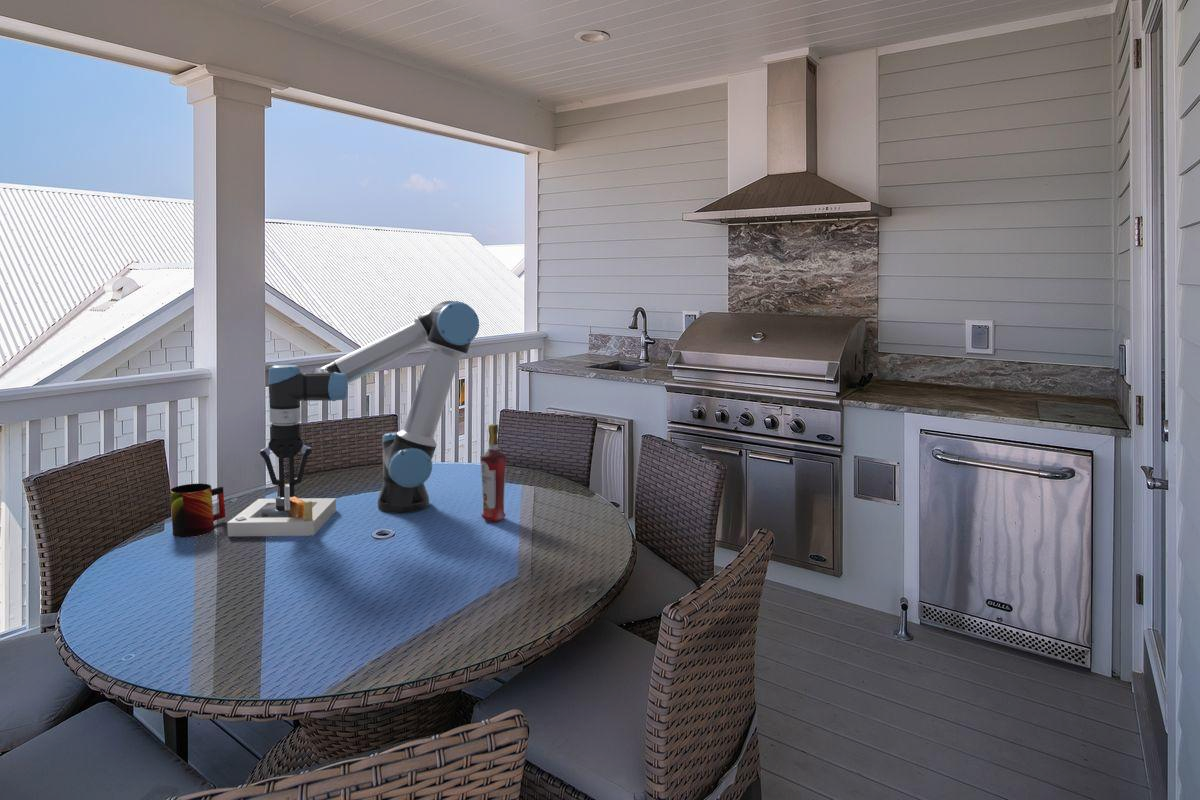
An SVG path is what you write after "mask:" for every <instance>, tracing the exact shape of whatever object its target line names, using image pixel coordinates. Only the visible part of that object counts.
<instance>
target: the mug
mask: <svg viewBox="0 0 1200 800" xmlns="http://www.w3.org/2000/svg"><path fill="white" fill-rule="evenodd" d="M224 494H225V493H224V486H218V487H216V488H212V485H211V484H209V483H208V484H207V483H187V484H183V485H177V486H174V487H172V488H171V489H169V497H170V498H169V499H170V500H169V501H170V510H171V511H170V512H171V513H170V514H171V524H172V535H173V536H174V537H177V538H186V539H187V538H194V537H195V536H196V537H200V535H201V536H204V534H205V535H207V533H208V534H210V533H212V532H213V531H214V530H215V526H214V525H215V524H214V522H215V521H217V520H221V519H223V518H226V508H225V507H226V505H225V495H224ZM216 495H217V497H218V508H219V509H218V511H219V512H217V513H214V509H213V496H216ZM211 531H212V532H211Z"/></svg>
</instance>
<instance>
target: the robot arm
mask: <svg viewBox="0 0 1200 800" xmlns="http://www.w3.org/2000/svg"><path fill="white" fill-rule="evenodd" d="M479 328H480V320H479V316H478V314H477V313H476V311H475V309H473V308H472V307H471V306H470V305H469V304H467V303H465V302H464V301H463V302H462V301H458V300H455V301H453V300H446V301H441V302H439V303H438V304H436V305H435V306H434V307H432V308H430V309H428V310H427V311H426V312H423V313H421V314H419V315H418V316H416V317H415V318H414V321H413V322H411V323H409V324H407V325H405V326H403V327H401V328H398V329H397V330H395V331H393V332H391V333H389V334H386V335H385V336H383V337H381V338H378V339H376V340H374V341H372V342H370V343H368V344H367V345H364V346H362V347H360V348H358V349H356V350H354V351H352V352H350V353H348V354H346V355H344V356H341V357H340V358H339V357H338V358H337V359H336V360H334V361H332V362H330V363H328V364H326V365H322V366H318V367H316V368H314V369H313V371H311V372H301V370H300V366H299V365H295V364H277V365H276V364H275V365H271V367H269V369H268V399H269V400H268V404H269V422H270V423H271V424H270V425H269V435H270V436H269V438H270V440H269V441H268V446H266V447H264V448H261V449H260V451H259V455H260V456H261V457H262V458H263V460H264V462H265V465H266V468H267V471H268V474H269V478H270V481H271V484H272V485H273V486H275V485H276V486H278V487H279V496H280V498H284V503H285V510H290V497H294V496H295V485H297V484H301V483H302V480H303V476H304V473H305V469H306V465H307V461H308V458H309V456H310V454H311V453H312V452H313V451H312V447H311V446H307V445H305V444H304V442H303V440H302V429H301V428H302V424H300V422H301V420H302V419H301V402H307V401H309V402H310V401H312V402H314V401H316V402H317V401H322V402H325V401H328V402H329V401H331V402H336V401H345V400H347V398H348V384H350V383H352V382H354V381H356V380H358V379H360V378H362V377H364V376H366V375H368V374H370V373H372V372H374V371H376V370H379V369H381V368H383V367H384V366H386V365H388V364H391V363H393V362H395V361H397V360H398V359H401V358H403V357H404V356H407V355H408V354H410V353H412V352H415V351H417V350H418V349H421V348H423V347H425V346H427V347H429V352H428V355H427V357H426V361H425V364H424V368H423V370H422V372H421V376H420V378H419V381H418V385H417V388H416V391H415V394H414V397H413V401H412V403H411V406H410V409H409V412H408V415H407V419H406V422H405V424H404V428H403V429H400V430H398V431H394V432H393V431H392V432H386V433H384V434H383V435H382V442H381V445H382V478H383V479H382V480H383V481H382V486H381V489H380V493H379V496H378V500H377V508H378V510H380V511H382V512H384V513H388V514H389V513H391V514H407V513H408V514H409V513H413V512H420V511H422V510H425V509H427V508H428V507H430V496H429V493H428V491H427V488H426V486H425V482H427V481H428V479H429V477H431V475H432V472H433V471H432V470H433V458H434V454H435V451H436V448H437V442H436V440H435V439H434V438H435V434H436V431H437V428H438V424H439V422H440V419H441V415H442V412H443V410H444V408H445V407H444V406H445V403H446V400H447V397H448V395H449V392H450V389H451V386H452V383H453V379H454V378H455V377H454V376H455V374H456V371H457V367H458V364H459V360H460V359H461V358H462V357H464V356H465V357H466V355H468V352H469V349H470V346H471V344H472V343H471V342H472V341H473V340H474V339H475V338H476V337H477V335H478V333H479V330H480V329H479ZM300 450H301V454H302V455H301V459H300V463H299V466H298V470H297V474H296V477H295V457H296V455H297V454H298V453H299V452H300ZM271 452H272V453H273V454H274V455H275V457H276V458H278V477H279V478H277V476H276V474H275V473H276V472H275V470H274V467H273V463H272V460H271V456H270V455H271ZM285 458H288V483H285V460H284V459H285Z"/></svg>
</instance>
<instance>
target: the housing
mask: <svg viewBox="0 0 1200 800" xmlns="http://www.w3.org/2000/svg"><path fill="white" fill-rule="evenodd" d="M298 498H299V497H298ZM299 499H301V500H303V501H305V502H304V517H300V518H297V517H283V518H261V509H262V508H263V507H265V506H268V505H271V504H275V503H276V498H258V499H256V500H255V501H254V502H253V503H251V504H250V505H249V506H247V507H246V508H244V510H243V509H242V511H241V512H239V513H238V514H237V515H236V516H234V517H233V518H232V519H230V520H229V521H227V522H226V524H227V525H226V526H227V527H226V528H227V537H291V536H292V537H299V536H300V537H301V536H302V537H303V536H304V537H305V536H306V537H307V536H308V537H309V536H311V535H312V536H315V535H316V534H317V533H318V532H319V531H320V529H321V528H322V527H323V526H324V525H326V522H328V520H329V519H330V518H331V517H332V516H333V515H334V514H335V513H336V512H337V498H336V497H335V498H333V497H331V498H327V497H325V498H322V497H319V498H318V497H317V498H315V497H314V498H313V497H311V498H309V497H307V498H299Z"/></svg>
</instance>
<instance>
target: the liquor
mask: <svg viewBox="0 0 1200 800" xmlns="http://www.w3.org/2000/svg"><path fill="white" fill-rule="evenodd" d="M498 434H499V425H498V424H496V423H492V424H491V423H490V424H488V436H489V437H488V447H487V449H488V450H487V451H486V452H484V453H483V454H482V455H481V456H480V473H481V474H480V475H481V476H480V477H481V490H482V492H481V493H482V511H483V512H482V514H481V518H483V520H485V521H486V522H487V521H488V523H500V522H501V521H502V520H503V519H504V518H505V517H506V513H505V487H506V486H505V485H506V474H507V471H506V469H507V455H506V454H504V452H502V451H499V441H498Z"/></svg>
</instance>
